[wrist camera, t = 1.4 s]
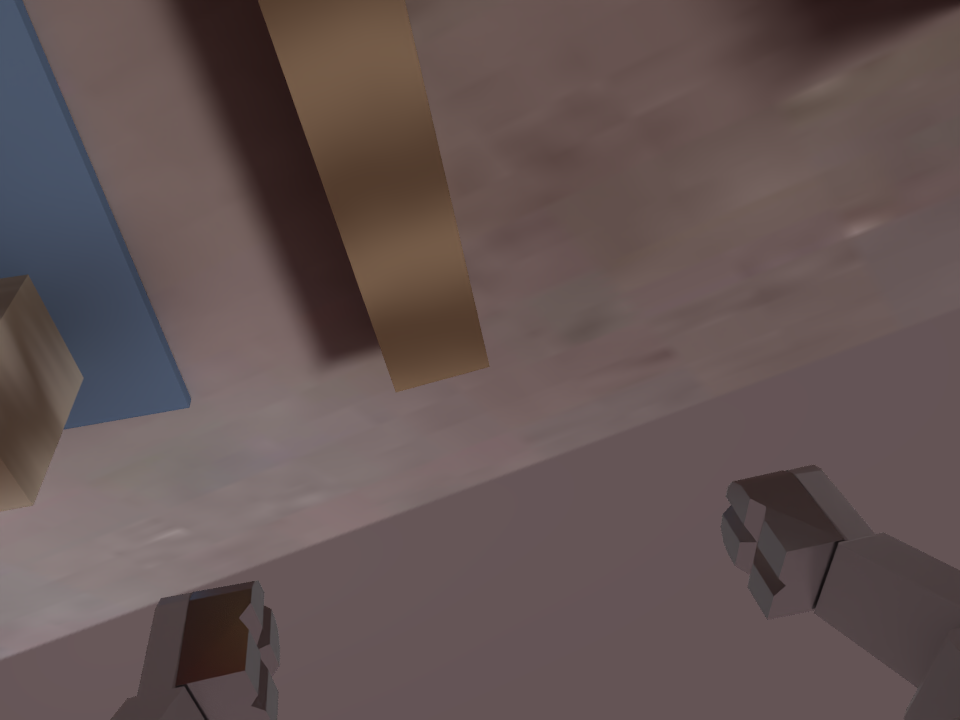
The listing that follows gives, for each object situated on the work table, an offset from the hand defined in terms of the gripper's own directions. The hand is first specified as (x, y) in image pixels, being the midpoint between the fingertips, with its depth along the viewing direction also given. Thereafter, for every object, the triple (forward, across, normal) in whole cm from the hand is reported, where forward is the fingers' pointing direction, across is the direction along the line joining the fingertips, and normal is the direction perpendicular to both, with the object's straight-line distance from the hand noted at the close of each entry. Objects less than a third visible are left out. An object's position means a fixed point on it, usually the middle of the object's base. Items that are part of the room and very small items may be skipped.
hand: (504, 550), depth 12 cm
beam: (+19, +1, -1) cm, 19 cm away
